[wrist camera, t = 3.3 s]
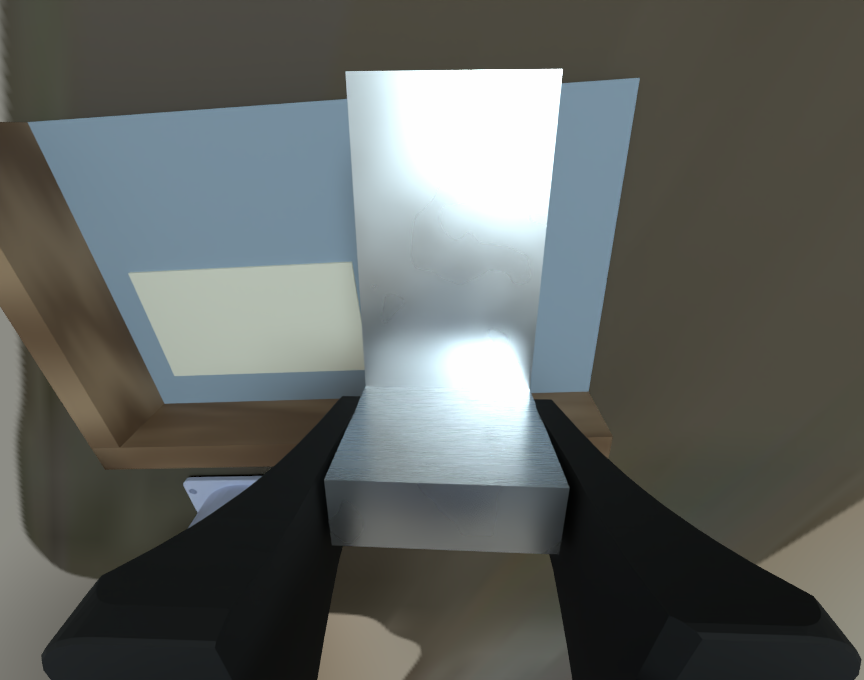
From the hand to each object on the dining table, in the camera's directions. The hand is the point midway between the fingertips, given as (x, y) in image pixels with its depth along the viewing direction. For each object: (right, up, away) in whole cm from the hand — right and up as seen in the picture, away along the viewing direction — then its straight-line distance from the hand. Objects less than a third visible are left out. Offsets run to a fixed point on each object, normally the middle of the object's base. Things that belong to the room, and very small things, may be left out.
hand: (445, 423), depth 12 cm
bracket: (0, +5, 0) cm, 5 cm away
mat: (-5, +5, +8) cm, 10 cm away
